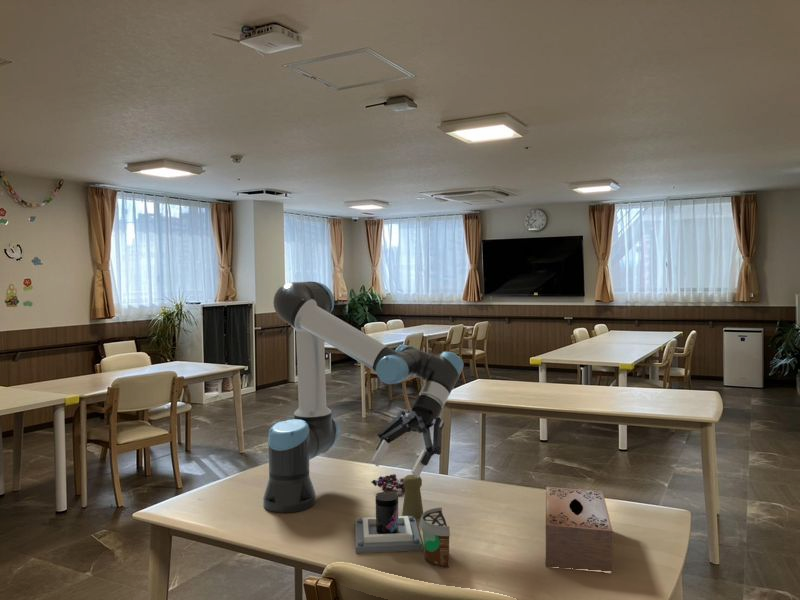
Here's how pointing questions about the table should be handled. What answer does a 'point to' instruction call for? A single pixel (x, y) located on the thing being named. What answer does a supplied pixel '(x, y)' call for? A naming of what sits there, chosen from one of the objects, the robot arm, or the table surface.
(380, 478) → the toy collection
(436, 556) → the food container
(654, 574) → the table surface
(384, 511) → the supplement container
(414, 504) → the cork
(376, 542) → the base plate
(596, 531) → the tissue box cover
